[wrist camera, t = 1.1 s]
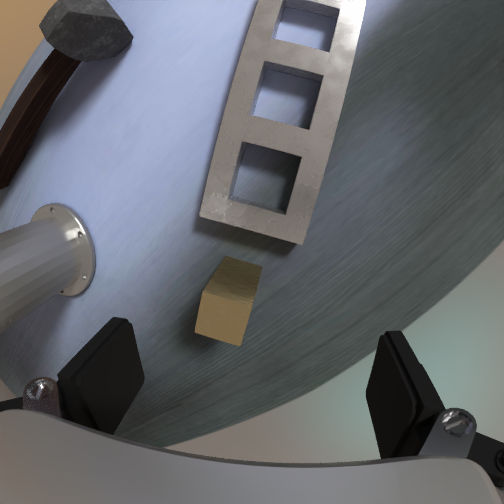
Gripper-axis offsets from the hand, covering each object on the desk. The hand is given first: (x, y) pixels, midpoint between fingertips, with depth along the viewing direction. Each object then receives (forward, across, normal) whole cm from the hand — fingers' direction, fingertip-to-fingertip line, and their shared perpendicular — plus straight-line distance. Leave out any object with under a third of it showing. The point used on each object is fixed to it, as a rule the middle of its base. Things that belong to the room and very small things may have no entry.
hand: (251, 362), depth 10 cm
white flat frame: (+21, -1, -13) cm, 25 cm away
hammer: (+22, +28, -16) cm, 39 cm away
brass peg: (+21, +4, +5) cm, 22 cm away
